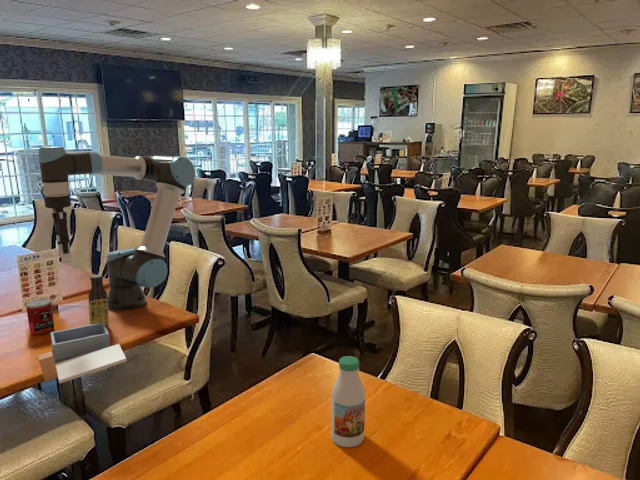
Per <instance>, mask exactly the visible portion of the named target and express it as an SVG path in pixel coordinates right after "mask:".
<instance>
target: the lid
mask: <svg viewBox="0 0 640 480" xmlns="http://www.w3.org/2000/svg"><path fill="white" fill-rule="evenodd" d="M37 356H38V362H39V365H40V368H41V372H42V376H43V380H44V382H49V381H52V380H55V379H58V384H62V383H66V382H69V381H72V380H74V379H75V380H76V379H77V378H80V377H83V376H84V377H88V376H91V375H93V374H96V373H99V372H102V371H105V370H108V368H111V367H114V366H116V365H119V364H123V363H126V362H128V361H127V357H126V355H125V353H124V351H123V350H122V348H121V345H120V343H117V344H114V345H110V347H107V348H104V349H100V350H97V351H94V352H91V353H88V354H84V355H81V356H78V357H75V358H72V359H69V360H65V361H62V362H58V363H55V360H54V355H53V350H51V351H48V352H45V353H41V354H38V355H37Z"/></svg>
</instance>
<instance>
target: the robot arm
mask: <svg viewBox="0 0 640 480" xmlns="http://www.w3.org/2000/svg"><path fill="white" fill-rule="evenodd" d="M38 163H39V169H40V177H41V185H40V186H39V188H40V189H42V191H43V195H44V197H43V200H44V207H45V208H47V209H52V211H53V212H52V213H51V217H52V218H53V224H54V232H55V238H56V246H57V254H58V255H60V257H61V264H63V265H65V264H72V253H71V247H70V246H71V245H70V242H71V240H70V235H69V230H68V215H67V212H66V211H64V208H70V207H71V206H72V200H71V195H70V193H71V189H70V182H69V176H81V175H83V176H84V175H99V176H113V177H128V178H129V177H132V178H133V179H135V180H139V181H147V182H150V183H151V182H152V183H155V186H156V188H157V192H156V195H155V199H154V202H153V205H152V208H151V211H150V215H149V218H148V221H147V224H146V228H145V231H144V235H143V237H142V242H141V244H140V246H139V247H137V248H124V249H117V250H114V251H110V252H109V253H107V255H106V265H107V274H108V275H107V276H108V284H109V287H108V293H107V301H108V310H111V311H126V310H127V311H128V310H129V311H130V310H132V309H133V310H134V309H136V308H140V307H143V306H144V305H145V304H146V303H147V301H146V299H147V298H146V295H145V293H144V290H143V289H142V288H148V289H149V288H155V287H158V286H159V285H161V284H162V283H163V282H164V281H165V280H166V277H167V274H168V267H167V263H166V262H165V259H166V255H165V253H164V248H165V245H166V242H167V238H168V236H169V232H170V229H171V225H172V221H173V218H174V215H175V212H176V207H177V205H178V201H179V197H180V196H181V195H183V194H184V193H185V191H186V188H187V187H189V186H190V185H191V184H192V183H194V181H195V178H196V169H195V166H194V163H193V162H192V161H191V160H190V159H189V158H187V157H186V156H180V155H162V154H161V155H148V156H147V155H146V156H145V155H144V156H143V155H142V156H141V155H136V156H134V157H128V156H127V157H125V156H116V155H107V154H106V155H104V154H100V153H98V152H96V151H89V150H87V151H69V150H67V151H66V149H65V147H63V146H41V147H39V148H38Z"/></svg>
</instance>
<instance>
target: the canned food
mask: <svg viewBox="0 0 640 480" xmlns="http://www.w3.org/2000/svg"><path fill="white" fill-rule="evenodd" d="M52 306H53V305H52V301H51V299H49V298H38V299H37V298H36V299H33V300H29V301H28V302H26V304H25V307H26V315H27V321H28V322H27V323H28V330H29V332H30V335H32V336H44V335H48V334H50V333H51V332H54V330H55V323H54V314H53V307H52Z"/></svg>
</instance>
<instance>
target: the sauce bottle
mask: <svg viewBox="0 0 640 480" xmlns="http://www.w3.org/2000/svg"><path fill="white" fill-rule="evenodd" d="M89 279H90V284H91V288H90V290H89V293H88V314H89V315H88V316H89V325H92V324H97V323H102V322H104V324H105V326H106V328H107V329H108V327H109V322H110V321H109V308H108V301H107V296H108V293H107V290H105V288H104V281H103V280H104V276H103V274H94V275H93V274H92V275H91V276H90V278H89Z"/></svg>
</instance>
